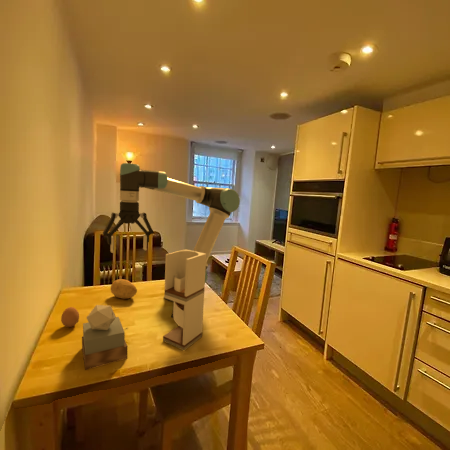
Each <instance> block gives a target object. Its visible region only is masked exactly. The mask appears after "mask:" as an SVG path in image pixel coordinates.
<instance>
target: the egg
mask: <svg viewBox="0 0 450 450" xmlns="http://www.w3.org/2000/svg"><path fill="white" fill-rule="evenodd" d="M79 319H80V313H79V311H78V310H77V308H75V307H74V306H68V307H67V308H65V310H63V312H62V314H61V317H60V321H61V324H62V325H63V326H64V327H67V328H73V327H74V326H75V325H76V324H77V323H78V322H79Z"/></svg>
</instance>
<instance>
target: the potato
mask: <svg viewBox="0 0 450 450" xmlns="http://www.w3.org/2000/svg"><path fill="white" fill-rule="evenodd" d="M110 292H111V294H112V295H113V296H114V297H116V298H119V299H122V300H123V299H126V300H127V299H130V298H131V299H132V298H133V297H134V296H135V295H136V294H137V292H138V289H137V287H136V285H135V284H134V283H132V282H131V281H129V280H127V279H123V278H119V279H116V280H114V281H113V282H112V284H111V286H110Z"/></svg>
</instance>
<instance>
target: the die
mask: <svg viewBox="0 0 450 450" xmlns="http://www.w3.org/2000/svg"><path fill="white" fill-rule="evenodd" d="M116 317H117V316H116V314H115V312H114V310H113V307H112V306H111V305H103V304H96V305H95V306H94V308H92V309H91V311H90V313H88V315H87V316H86V320H87V323H88V322H89V324H90V326H91V328H92V330H108V328H109V327H110V325H111V324H112V323H113V321H114V320H115V318H116Z"/></svg>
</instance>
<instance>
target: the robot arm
mask: <svg viewBox="0 0 450 450" xmlns="http://www.w3.org/2000/svg"><path fill="white" fill-rule="evenodd" d="M140 167H141V166H140V165H139V164H137V163H127V162H123V163H121V164H120V169H119V188H120V189H119V200H120V202H119V212H117V213H116V212H111V215H110V219H109V221H108V222H107V225H106V226H105V228H104V229H103V232H102V235H103V236H105V237H107V244H108V245H109V246H110V247H109V249H110V250H109V251H110V253H112V254H114V243H115V242H114V234H115V233H117V231H118V230H119V228H121V226H123V225H124V224H127V225H129V224H132V225H133V224H136V225H137V226H138V227H139V229H140V230H141V231H142V232H143V233H144V234H143V237H142V238H143V244H142V246H143V247H142V249H143V250H144V251H147V247H148V245H147V244H148V243H149V242H150V235H153V234H154V229H153V228H152V226H151V224H150V221H149V220H148V217H147V213H145V212H142V213H141V212H139V211H140V203H139V201H140V189H141V188H143V189H147V190H153V191H155V192H156V191H157V192H161V193H164V194H168V195H172V196H177V197H180V198H184V199H188V200H191V201H195V202H196V203H197V204H199V205H203V206H205V207H208V210H209V215H208V216H207V219H206V221H205V223H204V225H203V228H202V230H201V232H200V234H199V237H198V239H197V241H196V243H195V246H194V247H193V249H192V251H196V252H200V253H205V254H206V270H205V284H206V283H207V281H208V277H209V274H208V272H207V270H208V268H209V264H208V259H209V258H210V255H211V254H212V252H213V251H212V250H213V248H214V246H215V244H216V241H217V239H218V236H219V235H220V232H221V231H222V228H223V225H224V224H225V220H226V219H229V218H230V217H231V214H232V213H233V212H235V211H237V210H238V209H239V207H240V202H241V199H240V196H239V194H238V192H237V191H236V190H235V189H233V188H229V187H207V186H202V185H200V186H196V185H194V184H193V185H192V184H191V183H190V184H189V183H187V182H183V181H179V180H177V179H172V178H169V177H168V174H167V172H165V171H160V170H149V169H148V170H147V169H141V168H140ZM118 217H119V220H118V222H117V223H116V224H115V225H114V226H113V224H114V222H115V220H116V219H118ZM139 218H141V219H142V220H143V223H144V224H145V226H146V228H147V229H146V228H145V227H144V225H143V224H142V223H141V221H140V220H139ZM112 226H113V227H112ZM111 228H112V229H111ZM166 300H167V301H170V302H173V303H174V301H172V300H169V299H166Z"/></svg>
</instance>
